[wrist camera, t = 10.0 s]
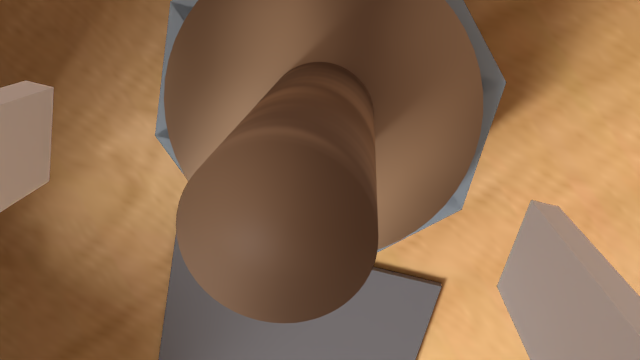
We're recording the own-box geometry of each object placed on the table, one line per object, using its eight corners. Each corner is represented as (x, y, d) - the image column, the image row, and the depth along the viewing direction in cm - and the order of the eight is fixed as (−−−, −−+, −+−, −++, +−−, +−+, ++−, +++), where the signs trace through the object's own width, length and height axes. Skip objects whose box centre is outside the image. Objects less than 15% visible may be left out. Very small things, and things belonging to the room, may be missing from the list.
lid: (156, 210, 25) (-15, 396, 14) (193, -92, 20) (-20, -179, 9) (426, 275, 25) (473, 514, 14) (524, -13, 20) (714, -4, 9)
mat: (151, 420, 38) (149, 424, 37) (179, 220, 32) (177, 223, 32) (372, 474, 38) (372, 479, 37) (440, 283, 32) (441, 286, 32)
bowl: (186, 174, 31) (145, 217, 25) (223, -90, 26) (183, -110, 20) (422, 231, 31) (434, 286, 25) (505, -23, 26) (543, -24, 20)
